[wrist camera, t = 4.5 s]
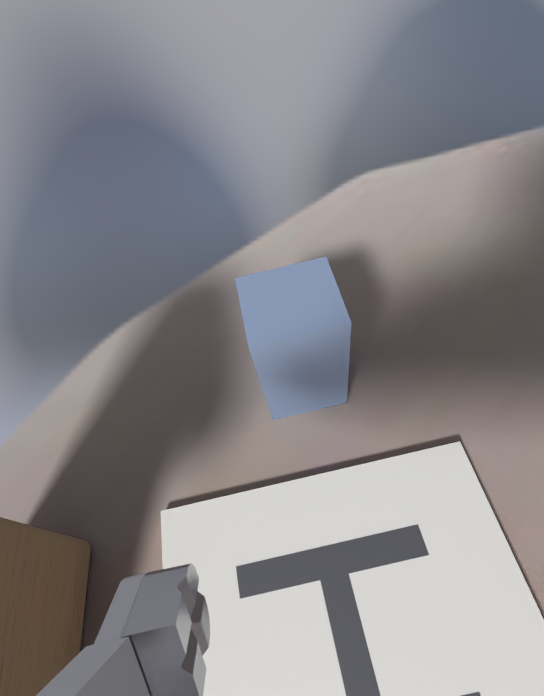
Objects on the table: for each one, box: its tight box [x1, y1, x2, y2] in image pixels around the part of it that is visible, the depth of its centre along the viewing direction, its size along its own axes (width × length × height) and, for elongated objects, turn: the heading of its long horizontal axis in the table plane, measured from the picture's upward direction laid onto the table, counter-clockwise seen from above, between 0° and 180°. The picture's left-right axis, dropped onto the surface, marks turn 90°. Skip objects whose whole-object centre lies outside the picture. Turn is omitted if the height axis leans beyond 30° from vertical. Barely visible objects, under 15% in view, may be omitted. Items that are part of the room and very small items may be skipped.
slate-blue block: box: [235, 257, 351, 420], centre depth 24 cm, size 5×4×9 cm
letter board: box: [161, 441, 544, 696], centre depth 20 cm, size 18×16×1 cm
